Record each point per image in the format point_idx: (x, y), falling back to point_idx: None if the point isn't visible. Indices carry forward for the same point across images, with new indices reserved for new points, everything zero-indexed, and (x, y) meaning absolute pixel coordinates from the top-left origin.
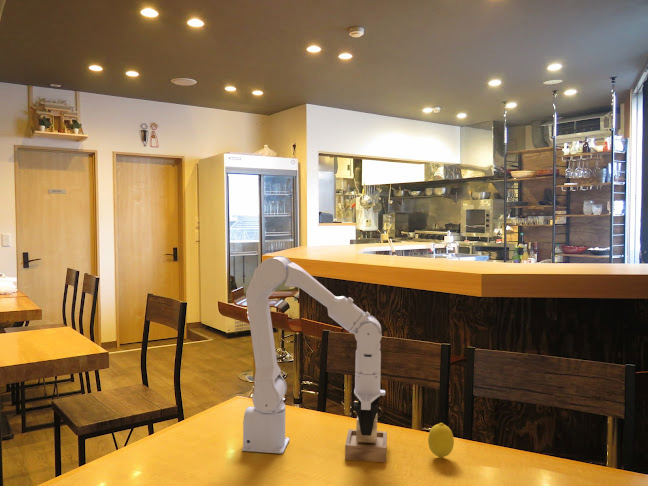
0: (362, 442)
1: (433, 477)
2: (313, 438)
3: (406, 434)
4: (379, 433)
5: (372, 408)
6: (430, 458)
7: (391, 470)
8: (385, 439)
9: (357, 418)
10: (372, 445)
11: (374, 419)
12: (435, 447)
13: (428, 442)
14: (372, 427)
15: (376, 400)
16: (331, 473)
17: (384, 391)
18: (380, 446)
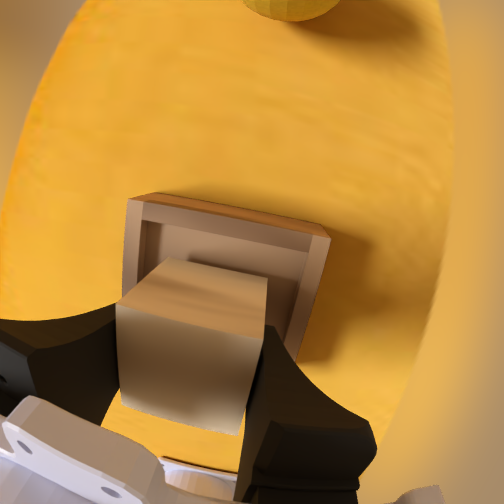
0: None
1: (435, 83)
2: (134, 412)
3: (68, 104)
4: (141, 237)
5: (361, 472)
6: (286, 36)
7: (385, 217)
8: (224, 222)
9: (217, 429)
10: (296, 300)
11: (230, 348)
12: (337, 3)
13: (287, 13)
14: (284, 347)
15: (56, 365)
16: (366, 398)
17: (64, 463)
18: (312, 265)
